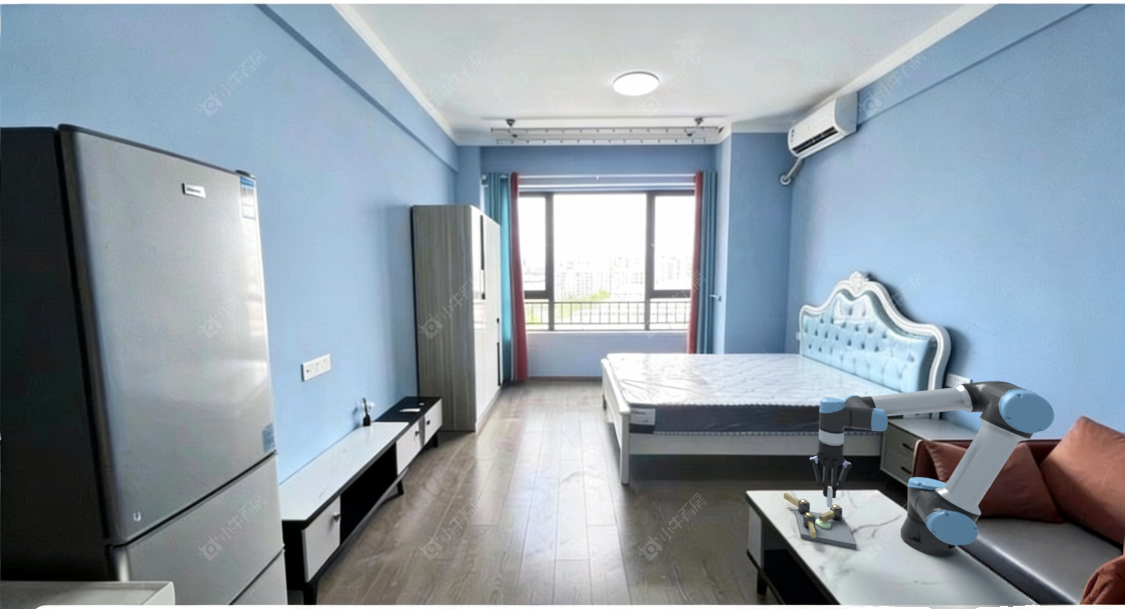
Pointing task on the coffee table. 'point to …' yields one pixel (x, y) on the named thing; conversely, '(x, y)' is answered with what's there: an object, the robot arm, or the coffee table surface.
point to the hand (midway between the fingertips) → (828, 505)
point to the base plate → (827, 531)
